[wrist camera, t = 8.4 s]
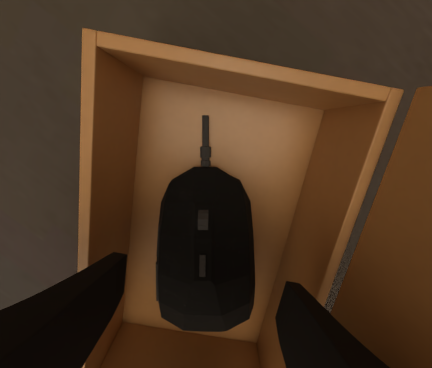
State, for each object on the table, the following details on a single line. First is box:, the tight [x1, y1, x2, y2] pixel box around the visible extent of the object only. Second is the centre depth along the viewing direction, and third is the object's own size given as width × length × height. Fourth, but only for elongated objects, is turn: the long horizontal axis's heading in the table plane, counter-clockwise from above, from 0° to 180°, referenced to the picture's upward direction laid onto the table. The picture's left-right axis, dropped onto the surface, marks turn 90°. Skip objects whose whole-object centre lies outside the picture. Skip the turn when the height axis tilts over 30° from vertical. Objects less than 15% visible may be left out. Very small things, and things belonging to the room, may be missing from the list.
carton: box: [78, 28, 404, 368], centre depth 13 cm, size 18×12×6 cm, turn 170°
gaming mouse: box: [156, 115, 255, 332], centre depth 13 cm, size 6×15×4 cm, turn 0°
